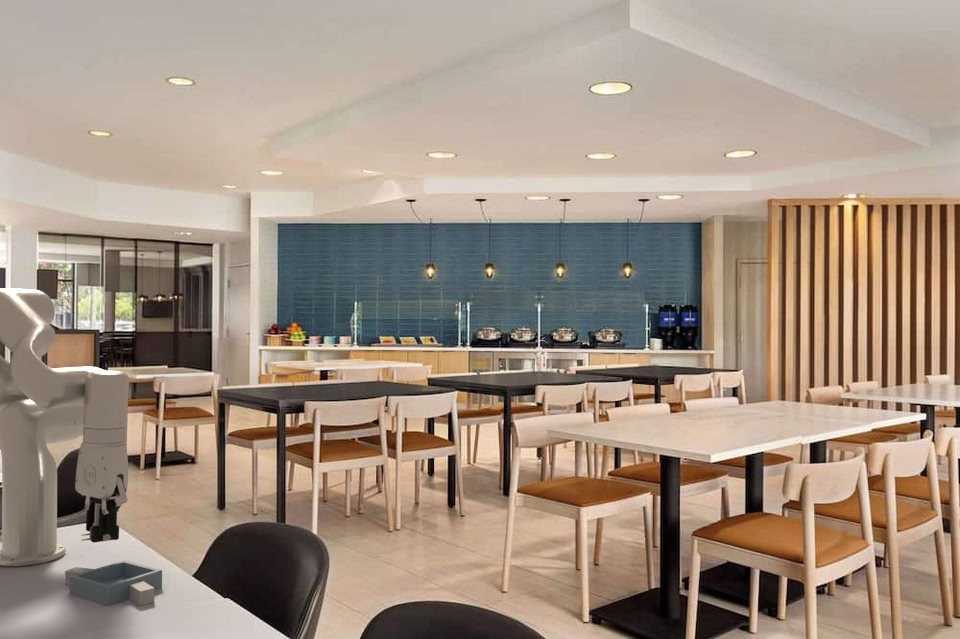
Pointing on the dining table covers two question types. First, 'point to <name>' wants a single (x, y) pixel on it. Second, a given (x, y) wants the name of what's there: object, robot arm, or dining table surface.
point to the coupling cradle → (115, 583)
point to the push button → (95, 528)
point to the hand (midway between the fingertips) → (101, 530)
